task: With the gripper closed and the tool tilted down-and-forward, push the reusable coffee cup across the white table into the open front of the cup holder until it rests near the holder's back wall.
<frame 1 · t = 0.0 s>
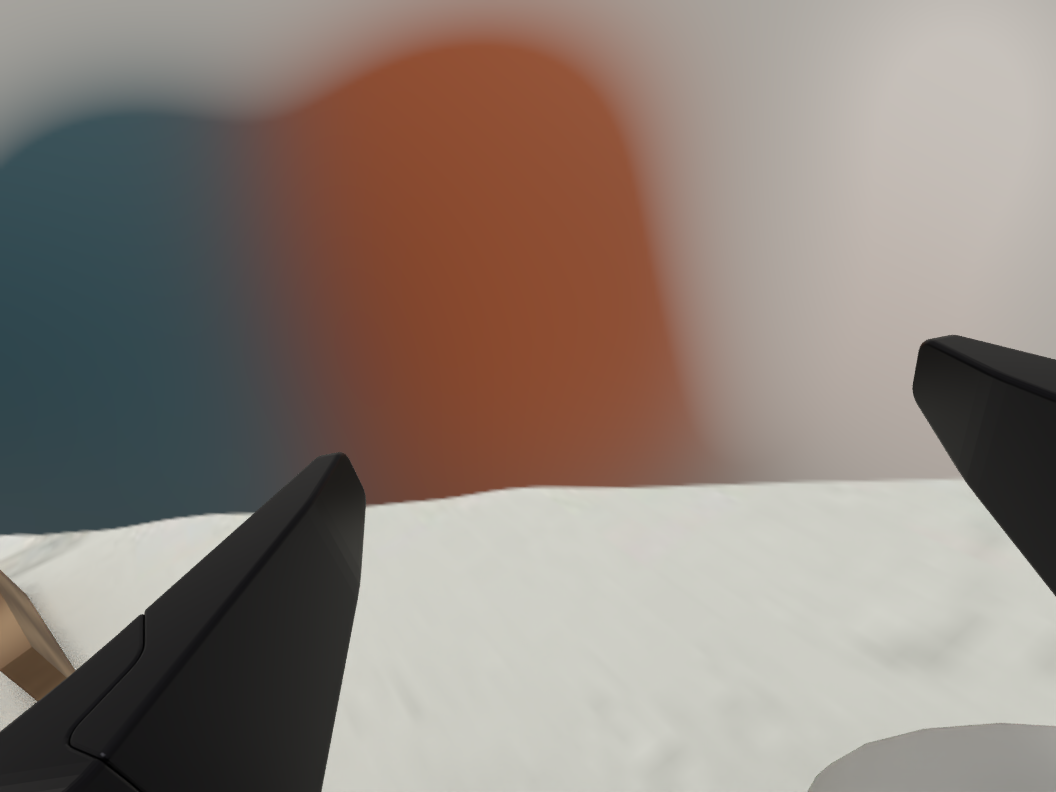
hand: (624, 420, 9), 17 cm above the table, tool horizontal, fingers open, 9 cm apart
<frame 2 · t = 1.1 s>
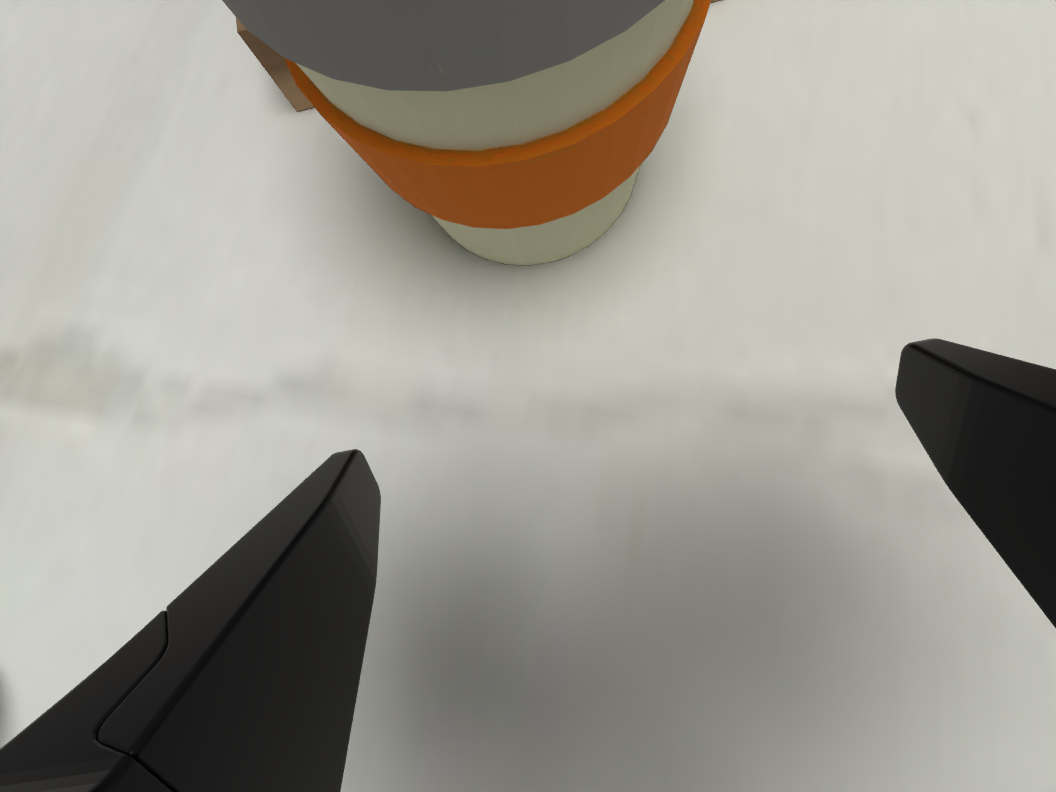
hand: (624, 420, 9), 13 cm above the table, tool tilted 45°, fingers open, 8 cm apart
reusable coffee cup: (529, 168, 25), on the table
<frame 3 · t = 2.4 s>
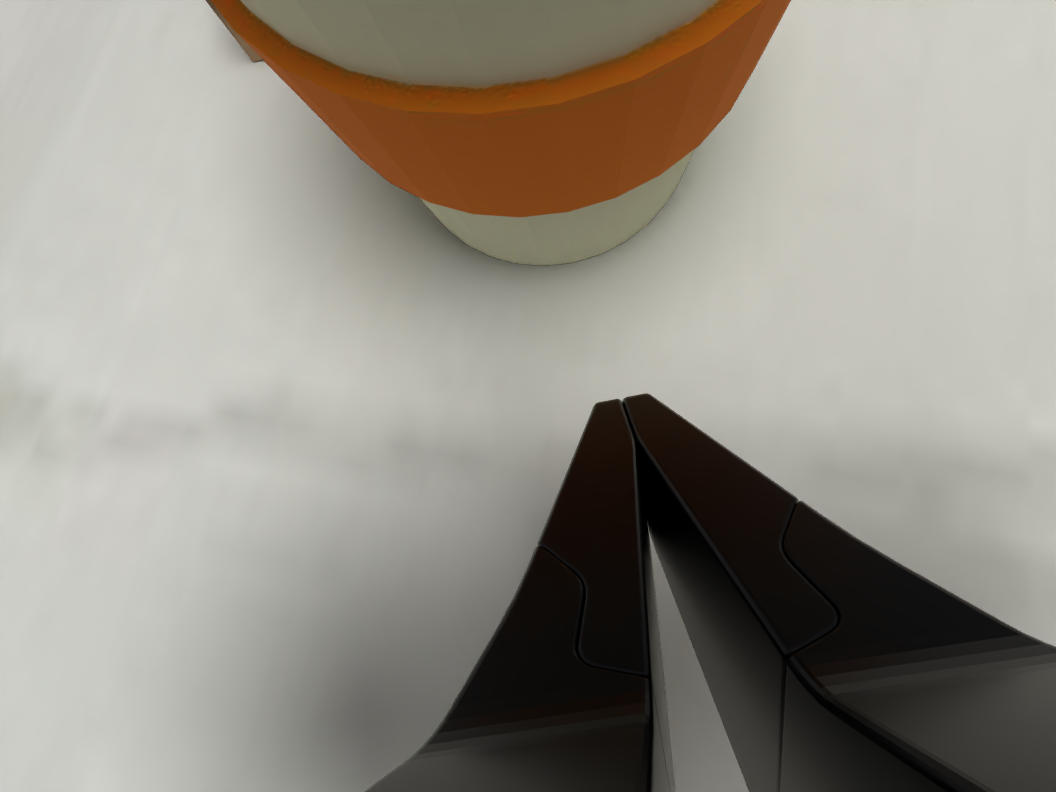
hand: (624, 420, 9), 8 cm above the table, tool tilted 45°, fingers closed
reusable coffee cup: (549, 139, 19), on the table
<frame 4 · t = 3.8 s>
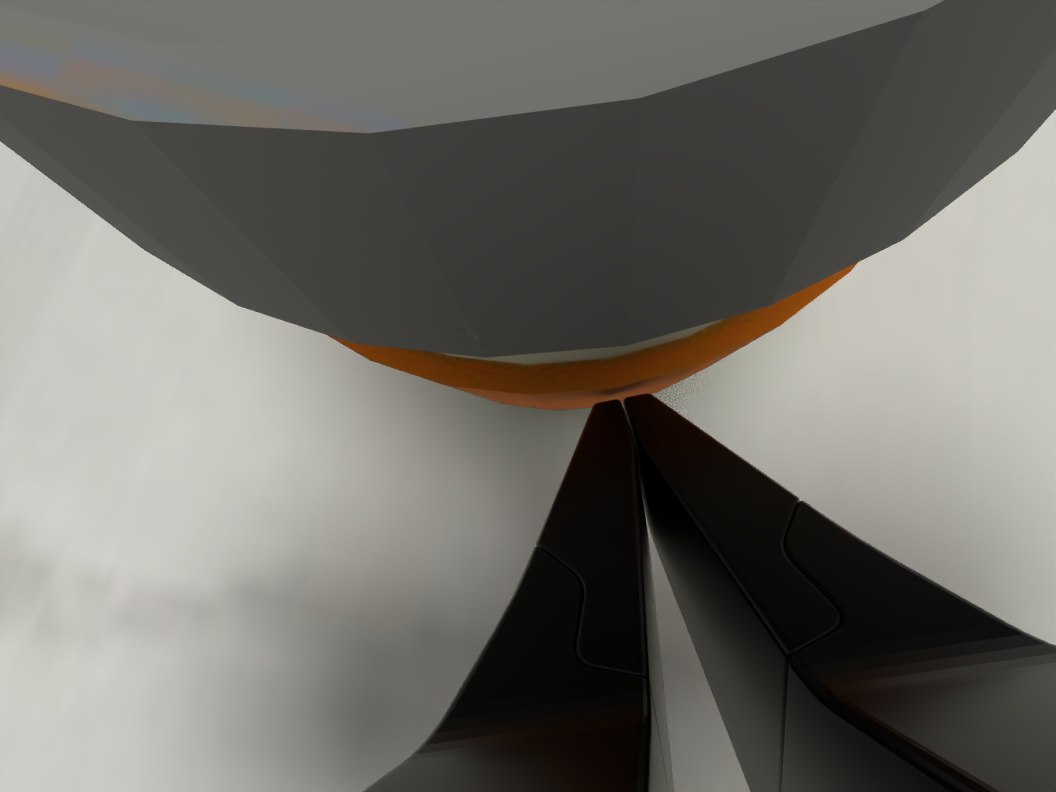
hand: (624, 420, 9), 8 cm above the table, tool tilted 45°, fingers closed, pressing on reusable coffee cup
reusable coffee cup: (573, 265, 19), on the table, touching gripper
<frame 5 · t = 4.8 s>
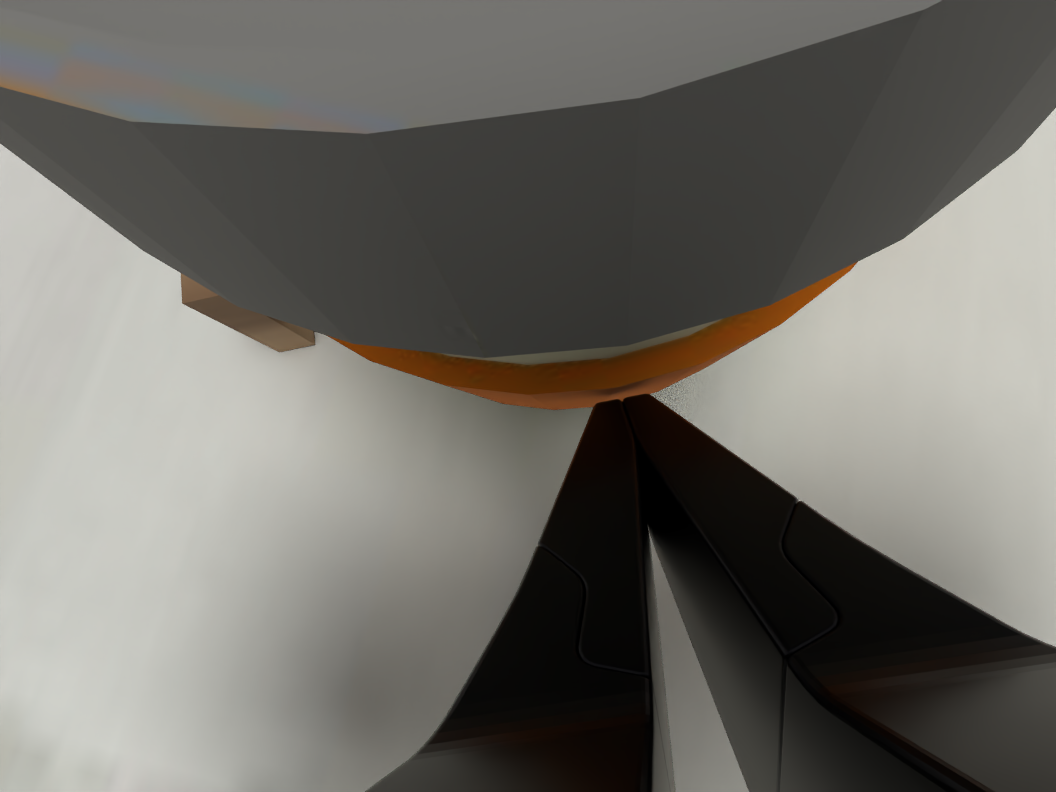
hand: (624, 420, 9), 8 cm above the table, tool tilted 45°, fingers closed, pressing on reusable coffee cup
holder: (549, 146, 19), on the table
reusable coffee cup: (573, 264, 19), on the table, touching gripper
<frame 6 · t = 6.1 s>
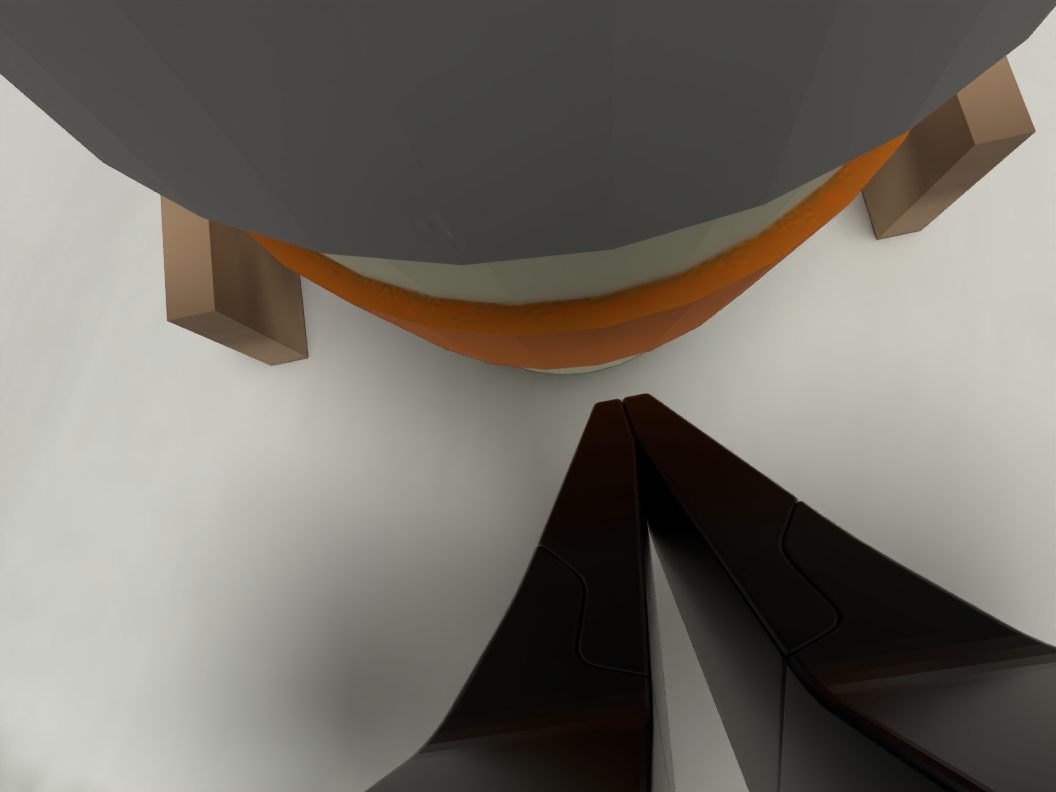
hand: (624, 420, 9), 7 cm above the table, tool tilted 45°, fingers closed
holder: (550, 151, 19), on the table
reusable coffee cup: (567, 233, 18), on the table
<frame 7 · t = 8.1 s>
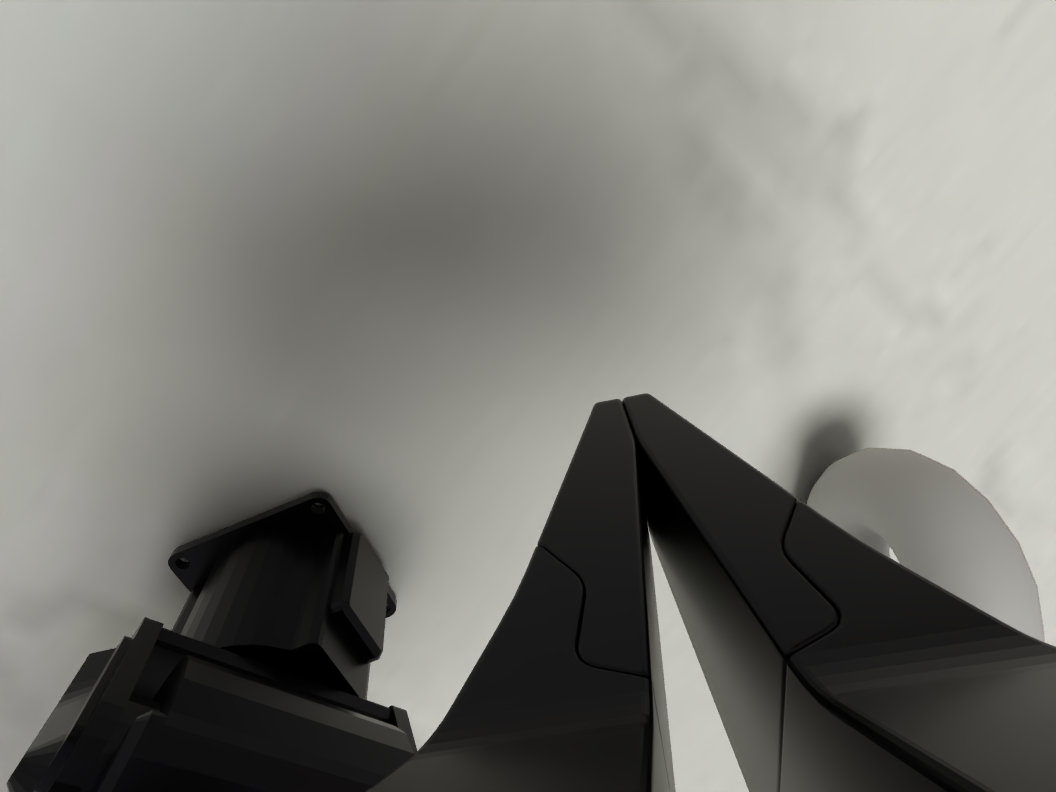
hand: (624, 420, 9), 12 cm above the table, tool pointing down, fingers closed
donut: (818, 501, 27), on the table
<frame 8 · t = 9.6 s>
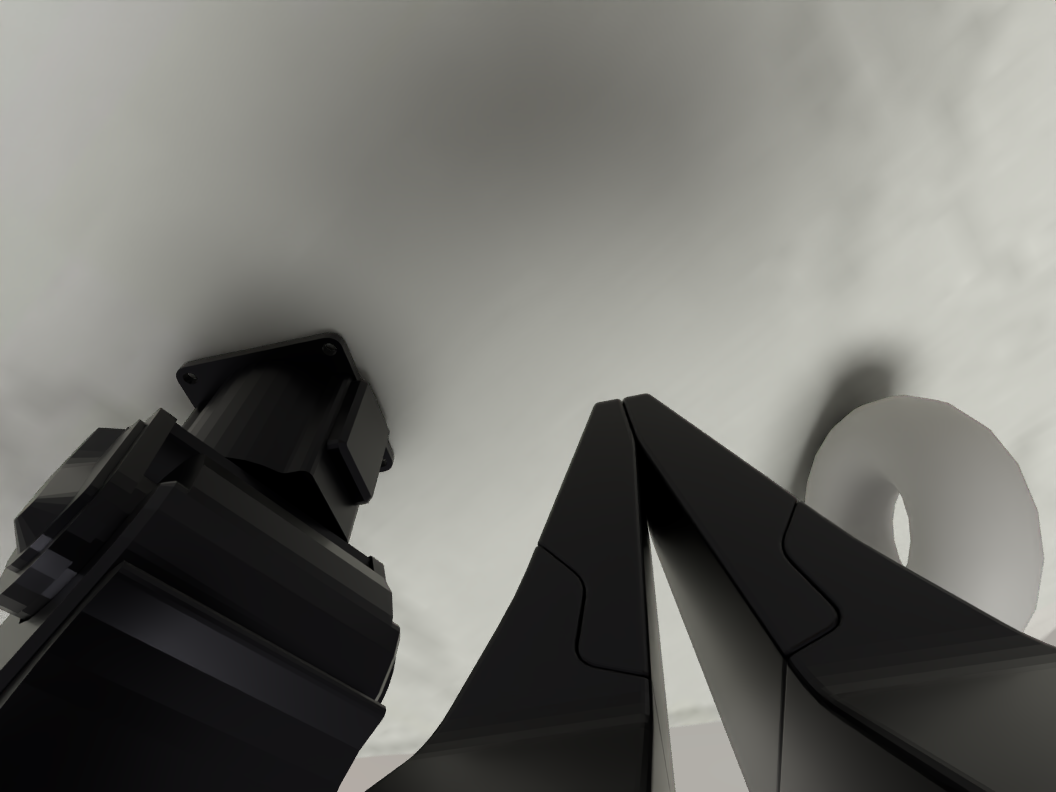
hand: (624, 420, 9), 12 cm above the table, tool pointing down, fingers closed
donut: (834, 443, 26), on the table
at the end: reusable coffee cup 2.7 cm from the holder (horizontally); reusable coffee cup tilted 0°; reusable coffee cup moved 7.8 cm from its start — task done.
